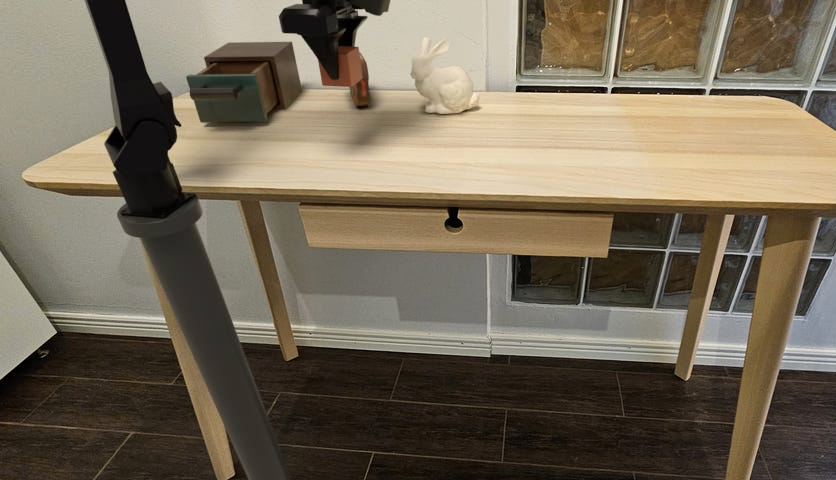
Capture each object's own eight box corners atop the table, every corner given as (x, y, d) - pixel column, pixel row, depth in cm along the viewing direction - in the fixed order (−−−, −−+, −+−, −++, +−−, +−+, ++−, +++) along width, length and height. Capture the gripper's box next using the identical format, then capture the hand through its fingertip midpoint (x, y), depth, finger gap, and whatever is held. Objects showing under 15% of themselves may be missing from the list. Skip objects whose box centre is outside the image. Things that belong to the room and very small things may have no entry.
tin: (349, 90, 110) (342, 47, 106) (364, 88, 111) (358, 45, 106) (357, 113, 99) (350, 65, 94) (374, 111, 99) (368, 64, 95)
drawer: (256, 131, 89) (244, 83, 85) (188, 132, 89) (172, 84, 85) (283, 102, 101) (273, 59, 97) (223, 103, 101) (211, 60, 97)
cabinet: (285, 109, 101) (273, 56, 95) (219, 110, 101) (203, 57, 95) (302, 91, 110) (292, 41, 105) (241, 91, 110) (228, 42, 105)
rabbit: (411, 115, 97) (405, 45, 90) (421, 99, 105) (416, 33, 98) (477, 116, 96) (476, 45, 89) (482, 100, 104) (482, 34, 97)
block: (351, 87, 76) (347, 54, 73) (322, 85, 77) (316, 52, 74) (363, 78, 80) (358, 46, 77) (334, 77, 80) (329, 45, 78)
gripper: (355, -44, 60) (372, 97, 69) (403, -56, 75) (412, 61, 84) (263, -44, 62) (292, 93, 71) (329, -56, 77) (345, 58, 86)
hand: (341, 75), depth 78 cm, fingers closed on block, 4 cm apart
